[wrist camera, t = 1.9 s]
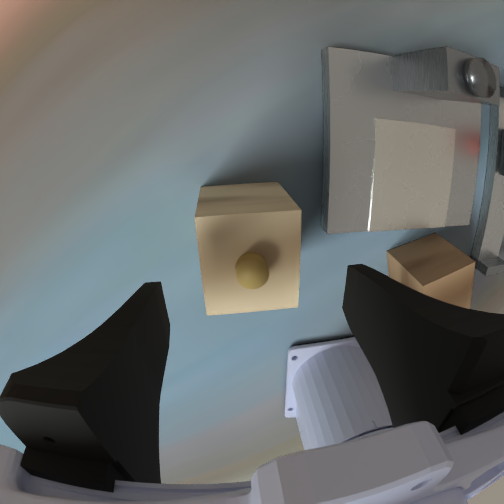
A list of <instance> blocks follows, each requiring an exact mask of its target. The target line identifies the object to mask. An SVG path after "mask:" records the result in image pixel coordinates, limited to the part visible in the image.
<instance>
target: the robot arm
mask: <svg viewBox="0 0 504 504" xmlns="http://www.w3.org/2000/svg"><path fill="white" fill-rule="evenodd" d="M342 308H343V311H344V314H345V317H346V320H347V322H348V325H349V327H350V329H351V331H352V333H353V335H354V337H351V338H345V339H339V340H333V341H327V342H320V343H313V344H306V345H299V346H293V347H291V348H290V349H289V350H288V360H287V379H286V396H285V412H284V414H285V417H287V418H291V417H296V420H297V423H298V427H299V431H300V435H301V439H302V443H303V447H304V450H303V451H299V452H296V453H292V454H288V455H285V456H281V457H277V458H275V459H274V460H272V461H270V462H268V463H266V464H264V465H262V466H260V467H259V468H258V469H257V470H256V472H255V473H254V475H253V476H252V478H251V481H247V482H236V483H220V484H161V479H160V464H159V403H160V394H161V388H162V382H163V377H164V371H165V366H166V360H167V355H168V349H169V338H170V322H169V318H168V313H167V309H166V304H165V300H164V295H163V290H162V285H161V282H148V283H145V284H143V285H142V286H141V287H140V288H139V289H138V290H137V291H136V292H135V293H134V294H133V295H132V296H131V297H130V298H129V299H128V300H127V301H126V302H125V303H124V304H123V305H122V306H121V307H120V308H119V309H118V310H117V311H116V312H115V313H114V314H113V315H112V316H111V317H109V318H108V319H107V320H106V321H105V322H104V323H103V324H102V325H101V326H99V327H98V328H97V329H96V330H94V331H93V332H92V333H90V334H89V335H88V336H86V337H85V338H83V339H82V340H81V341H79V342H77V343H76V344H74V345H73V346H71V347H69V348H68V349H66V350H64V351H63V352H61V353H59V354H57V355H55V356H53V357H52V358H49V359H47V360H45V361H43V362H41V363H39V364H36V365H34V366H31V367H29V368H26V369H23V370H21V371H18V372H15V373H12V374H11V376H10V378H9V380H8V382H7V384H6V386H5V388H4V390H3V392H2V394H1V396H0V416H1V418H2V419H3V420H4V422H5V423H6V424H7V426H8V427H9V428H10V429H11V430H12V431H13V433H14V434H15V435H16V436H17V437H18V438H19V439H20V440H21V441H22V443H23V444H24V445H25V446H26V448H25V451H24V454H23V453H21V452H19V451H18V450H16V449H13V448H10V447H7V446H4V445H1V444H0V504H468V502H467V500H468V499H470V498H471V497H473V496H475V495H476V494H478V493H479V492H481V491H482V490H484V489H485V488H487V487H488V486H489V485H491V484H492V483H494V482H495V481H497V480H498V479H499V478H501V477H502V476H503V475H504V314H496V313H488V312H482V311H477V310H472V309H467V308H464V307H460V306H456V305H453V304H449V303H446V302H443V301H441V300H438V299H435V298H432V297H430V296H427V295H425V294H423V293H420V292H418V291H416V290H414V289H412V288H410V287H408V286H406V285H404V284H402V283H400V282H398V281H396V280H394V279H392V278H390V277H388V276H386V275H384V274H382V273H380V272H379V271H377V270H375V269H373V268H370V267H368V266H366V265H363V264H356V265H348V268H347V277H346V285H345V293H344V300H343V307H342ZM293 356H296V357H293Z"/></svg>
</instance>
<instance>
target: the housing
mask: <svg viewBox="0 0 504 504" xmlns="http://www.w3.org/2000/svg"><path fill="white" fill-rule="evenodd" d="M195 224H196V233H197V242H198V251H199V259H200V267H201V275H202V283H203V291H204V298H205V305H206V312H207V315H220V314H232V313H244V312H255V311H265V310H275V309H285V308H294V307H298V299H299V277H300V250H301V209H300V208H299V206H298V205H297V204H296V203H295V202H294V200H293V199H292V198H291V197H290V196H289V194H288V193H287V192H286V191H285V190H284V188H283V187H282V186H281V185H280V184H279V183H278V182H266V183H249V184H233V185H219V186H207V187H201V188H200V193H199V198H198V203H197V209H196V214H195Z"/></svg>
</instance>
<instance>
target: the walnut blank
mask: <svg viewBox="0 0 504 504" xmlns="http://www.w3.org/2000/svg"><path fill="white" fill-rule="evenodd" d="M387 259H388V270H389V277H390V278H392V279H394V280H396V281H398V282H400V283H402V284H404V285H406V286H408V287H410V288H412V289H414V290H416V291H418V292H420V293H423V294H425V295H427V296H430V297H432V298H435V299H438V300H441V301H443V302H446V303H449V304H453V305H456V306H460V307H464V308H467V309H470V303H471V296H472V289H473V280H474V271H475V261H474V260H472V259H471V258H470V257H468V256H467V255H466V254H464V253H463V252H462V251H460V250H459V249H458V248H456V247H455V246H453V245H452V244H451V243H449V242H448V241H446V240H445V239H444V238H442V237H441V236H439V235H438V234H436V233H433V234H431V235H428V236H425V237H423V238H420V239H418V240H415V241H412V242H410V243H407V244H404V245H402V246H399V247H396V248H394V249H391V250H388V251H387Z"/></svg>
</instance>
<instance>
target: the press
mask: <svg viewBox="0 0 504 504" xmlns="http://www.w3.org/2000/svg"><path fill="white" fill-rule="evenodd" d="M321 55H322V81H323V192H322V219H321V227H322V228H323V230H324V231H325V232H326V233H327V234H333V233H348V232H363V231H369V232H372V231H388V230H404V229H420V228H436V227H445V226H462V225H469V222H470V217H471V211H472V206H473V199H474V193H475V186H476V178H477V169H478V159H479V147H480V131H481V104H487V105H495V106H500V87H499V67H497V66H495V65H493V64H491V63H489V62H488V61H486V60H485V59H483V58H476V57H474V56H471V55H469V54H466V53H464V52H461V51H458V50H455V49H452V48H450V47H447V46H445V47H438V48H432V49H426V50H420V51H415V52H409V53H404V54H399V55H395V56H388V55H382V54H377V53H371V52H364V51H358V50H351V49H343V48H334V47H327V48H325V49H323V50H321Z"/></svg>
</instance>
